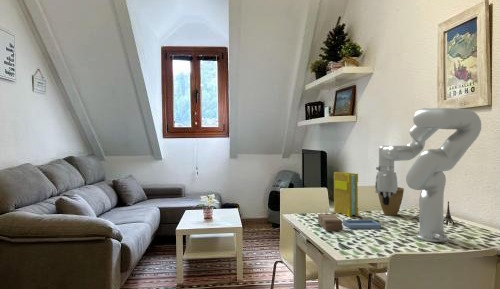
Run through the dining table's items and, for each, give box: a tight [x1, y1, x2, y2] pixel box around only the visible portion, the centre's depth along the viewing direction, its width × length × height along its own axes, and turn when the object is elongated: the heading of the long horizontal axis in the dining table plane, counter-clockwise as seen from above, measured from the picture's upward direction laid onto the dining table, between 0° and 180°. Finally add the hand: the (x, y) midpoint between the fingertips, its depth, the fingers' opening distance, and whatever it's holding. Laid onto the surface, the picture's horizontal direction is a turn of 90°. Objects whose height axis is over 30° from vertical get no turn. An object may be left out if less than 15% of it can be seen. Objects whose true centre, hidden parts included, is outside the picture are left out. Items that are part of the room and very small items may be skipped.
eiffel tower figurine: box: [444, 200, 457, 226], centre depth 177 cm, size 15×10×13 cm
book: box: [333, 171, 359, 217], centre depth 204 cm, size 17×7×25 cm, turn 22°
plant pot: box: [377, 187, 405, 217], centre depth 202 cm, size 15×15×16 cm
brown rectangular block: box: [317, 213, 343, 232], centre depth 173 cm, size 16×8×5 cm, turn 2°
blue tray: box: [342, 219, 382, 230], centre depth 173 cm, size 11×16×2 cm
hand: (385, 204), depth 174 cm, fingers closed
